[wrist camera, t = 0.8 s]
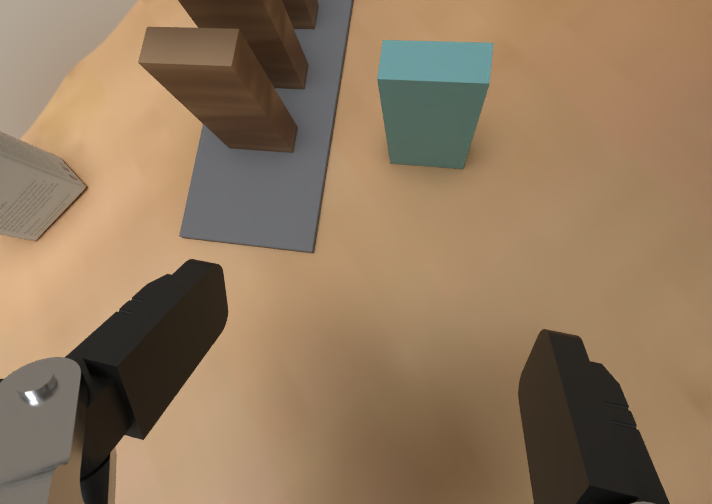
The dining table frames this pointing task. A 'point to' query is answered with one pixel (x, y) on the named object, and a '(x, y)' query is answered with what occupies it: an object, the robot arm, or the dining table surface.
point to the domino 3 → (302, 13)
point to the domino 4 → (432, 99)
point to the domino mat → (275, 158)
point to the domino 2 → (220, 85)
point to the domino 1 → (258, 35)
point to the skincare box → (32, 188)
